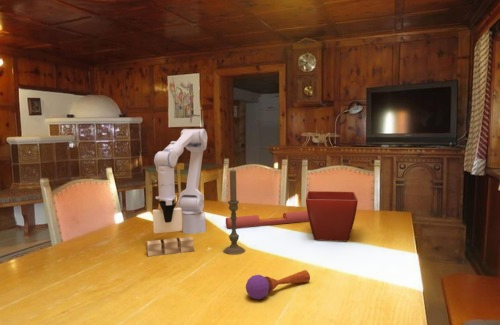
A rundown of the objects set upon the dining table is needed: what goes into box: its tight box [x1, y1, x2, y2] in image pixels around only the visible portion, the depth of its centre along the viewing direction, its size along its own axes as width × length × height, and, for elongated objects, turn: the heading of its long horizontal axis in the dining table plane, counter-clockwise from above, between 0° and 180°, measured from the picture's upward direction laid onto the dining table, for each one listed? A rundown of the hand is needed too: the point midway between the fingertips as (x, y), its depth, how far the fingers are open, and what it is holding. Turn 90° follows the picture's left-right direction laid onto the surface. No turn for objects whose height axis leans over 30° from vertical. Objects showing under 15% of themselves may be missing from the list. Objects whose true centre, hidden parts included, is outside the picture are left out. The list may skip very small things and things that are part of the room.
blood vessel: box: [225, 210, 309, 230], centre depth 166 cm, size 42×5×5 cm, turn 107°
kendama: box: [245, 269, 311, 300], centre depth 97 cm, size 6×6×20 cm
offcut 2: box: [178, 236, 195, 253], centre depth 128 cm, size 4×4×4 cm
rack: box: [145, 236, 195, 258], centre depth 131 cm, size 16×14×2 cm
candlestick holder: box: [222, 169, 246, 256], centre depth 125 cm, size 9×9×30 cm
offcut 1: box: [146, 239, 163, 257], centre depth 125 cm, size 4×4×4 cm
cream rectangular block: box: [152, 207, 183, 234], centre depth 133 cm, size 10×3×8 cm, turn 108°
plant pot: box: [305, 190, 359, 242], centre depth 145 cm, size 19×19×17 cm
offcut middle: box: [163, 237, 179, 255], centre depth 127 cm, size 4×4×4 cm
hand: (167, 221), depth 133 cm, fingers closed on cream rectangular block, 3 cm apart
